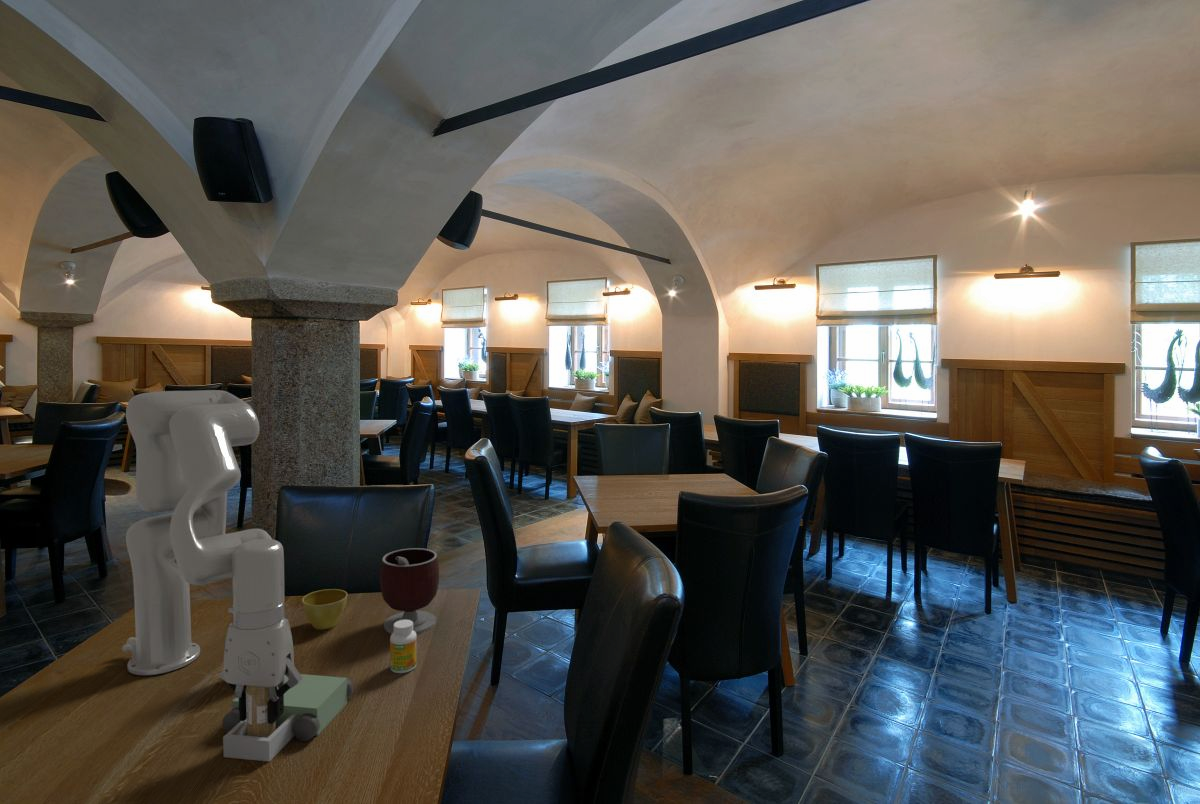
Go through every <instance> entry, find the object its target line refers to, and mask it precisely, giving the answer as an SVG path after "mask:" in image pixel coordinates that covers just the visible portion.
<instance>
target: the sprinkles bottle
mask: <svg viewBox="0 0 1200 804" xmlns="http://www.w3.org/2000/svg"><path fill="white" fill-rule="evenodd" d="M270 699H271V698H270V694H269V690H268V687H256V686H246V720H247V736H254V737H264V738H268V737H269V736H270V735H271V734H272V733H273V732H274V731H275V730H276V721H275V722H274V723H273V724H269V723H268V709H267V703H268V701H269V700H270Z"/></svg>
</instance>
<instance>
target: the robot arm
mask: <svg viewBox="0 0 1200 804" xmlns="http://www.w3.org/2000/svg"><path fill="white" fill-rule="evenodd" d="M125 419H126V424H127V427H128V430H129V432H130V434H131V437H132V439H133V441H134V444H135V449H136V455H135V456H136V459H135V461H136V465H135V469H136V470H135V473H136V474H135V475H136V477H135V478H136V479H135V493H136V494H135V495H136V502H137V504H138V507H139V508H140V509H141V510H142V511H144V512H146V513H164V512H170V513H165V514H159V515H154V516H150V517H145V518H143V519H140V520H138V521H137V522H134V523H133V524H131V526H129V528H128V529H127V530H126V535H125V542H126V543H125V544H126V549H127V552H128V556H129V560H130V564H131V565H130V566H131V572H132V581H133V597H134V598H133V599H134V600H133V601H134V620H135V622H134V625H135V626H134V628H135V636H134V637H133V636H131V637H128V639H127V640H126V643H125V644H124V645H123V646H122V648H121V650H122V652H131V655H132V656H131V658H130V659H129V660H128V662H127V665H126V666H127V671H128V672H129V673H131V674H133V675H136V676H153V675H154V676H155V675H160V674H161V675H162V674H165V673H169V672H172V671H173V672H174V671H176V670H178V669H180V668H183V667H185V666H187V665H189V664H191V663H192V662H194V661H195V660H196V659H197V658H198V657H199V656H200V654H201V647H200V645H199V644H198V643H196V642H192V631H191V630H192V626H191V625H192V622H191V598H190V597H191V595H190V594H191V593H190V592H191V591H190V585H192V586H203V585H208V584H212V583H216V582H219V581H224V580H226V579H227V580H228V579H230V578H231V579H232V605H230V606H229V607H228V609H227V612H228V614H231V615H233V618H232V619H233V621H232V622H231V623H230V624H229V625H228V628H227V633H226V636H225V643H224V651H223V669H222V670H221V671H220V673H219V677H220V679H222V680H223V681H224V682H226V683H227V684H228V686H229V687H230V688H231V689H232V690H233V692H234V697H235V698H239V714H240V721H244V720H246V686H256V687H268V690H269V694H270V698H271V699H270V700H269V701H268V703H267V709H268V723H269V724H273V723H274V722H275V721H276V720H277V719H278V718H279V717H280V716H281V715H282V714H283V712H284V693H286V692H287V691H288V690H289V689H291V688H292V687H294V686H295V685H297V684H298V683H299V682H300V681H301V680H302V676H301V675H300V674H301V673H300V672H299V671H298V669H297V667H296V666H295V652H294V644H293V643H294V642H293V635H292V631H291V626H290V622H289V619H288V618H286V617H285V616H286V613H285V612H286V611H285V607H286V606H285V603H286V601H285V556H284V554H285V553H284V546H283V545H282V543H281V542H280V541H278V540H276V539H273V538H272V536H271V535H270V534H269V533H268V532H267V531H265V530H264V529H262V528H250V529H249V528H248V529H245V530H244V529H243V530H240V531H234V532H229V533H226V530H227V529H226V528H227V527H226V526H227V506H228V505H227V503H228V502H227V501H228V491H230V490H231V489H233V488H234V487H235V486H237V484H238V483H239V482H240V481H241V477H242V474H241V470H240V467H239V464H238V461H237V459H236V456H235V452H234V449H233V447H240V446H242V447H243V446H248V445H251V444H253V443H255V442H256V440H258V437H259V435H260V428H261V427H260V422H259V419H258V415H257V414H256V412H255V410H254V409H253V407H251V406H250V405H249V404H248V403H247V402H245V401H244V400H243V399H241V398H239V397H237V396H236V395H234V394H232V393H230V392H228V391H226V390H220V389H219V390H218V389H207V390H205V389H203V390H164V391H151V392H143V393H142V392H141V393H139V394H137V395H134V396H132V397H131V398H130V399H129V401H128V402H127V404H126V409H125ZM171 511H173V512H171ZM284 675H286V676H287V677H288V679H289V680H288V681H287V682H285V678H284ZM277 686H278V689H277Z"/></svg>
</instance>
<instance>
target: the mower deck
mask: <svg viewBox="0 0 1200 804" xmlns="http://www.w3.org/2000/svg"><path fill="white" fill-rule="evenodd" d="M300 675H301V676H302V680H301V681H300V682H299V683H298V684H297V685H295V686H294V687H292V688H291V689H289V690H288V691H287V692H286V693H284V712H283V714H282V715H281V716H280V717H279V718H278V719H277V720H276V730H275V731H274V732H273V733H272V734H271V735H270V736H269V737H268V738H264V737H254V736H247V720H244V721H240V714H239V698H236V697H235V698H234V699H233V700H231V710H230V711H229V712H228V713H226V715H224V717H223V719H222V725H223V728H224V730H225V732H227V733H226V734H225V735H223V737H222V745H223V746H222V747H223V758H230V759H231V758H232V759H239V760H241V759H242V760H249V761H261V762H271V761H272V760H273V759H274V758H275V757H276V755H278V753H280V752H281V750H282V749H283V748H284V747H286V745H287V744H288V743H290V741H291V740H292V739H294V737H295V738H296V739H298V740H299V741H301V742H308V741H310V740H312V739H313V738H314V737H317V736H319V735H320V734H321V733H322V732H323V731H324V729H325V728H327V726H328V725H329V724H330V723H331V722H332V721H333V720H334V718H335V717H336V716H337V715H338V714H339V713H340V712H341V711H342V710H343V708H344V707H345V706H346V705H347V704H348V700H349V698H351V696H352V695H353V694H354V691H355V685H354V683H353V681H352V680H351V679H349V677H342V676H341V677H340V676H330V675H318V674H317V675H316V674H306V673H305V674H304V673H303V674H302V673H300ZM284 678H285V682H287V681H288V680H289V679H288V677H287V676H286V675H284ZM277 689H278V686H277Z"/></svg>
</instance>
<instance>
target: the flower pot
mask: <svg viewBox="0 0 1200 804" xmlns="http://www.w3.org/2000/svg"><path fill="white" fill-rule="evenodd" d="M347 600H348V592H347V591H345V590H343V589H337V588H333V589H332V588H330V589H329V588H328V589H321V590H316V591H312V592H310V593H308V594H306V595H304V596H303V597H302V598H301V603H302V607H303V610H304V613H305V616H306V618H307V619H308V621H309V623H310V624H311V626H312V627H313V628H314V629H315V630H328V629H333V627H335V626H336V625H337V624H338V622H339V621H340V619H341V618H342V615H343V613H344V611H345V608H346V604H347Z"/></svg>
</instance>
